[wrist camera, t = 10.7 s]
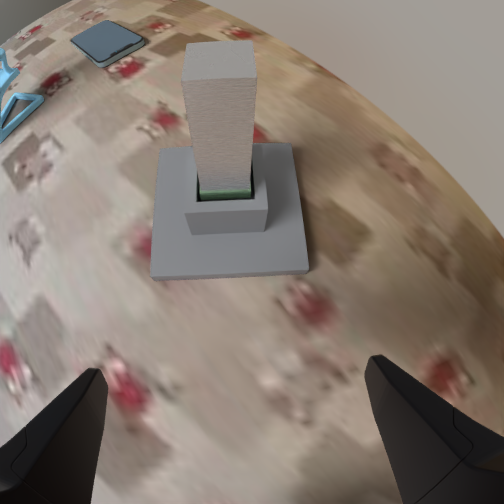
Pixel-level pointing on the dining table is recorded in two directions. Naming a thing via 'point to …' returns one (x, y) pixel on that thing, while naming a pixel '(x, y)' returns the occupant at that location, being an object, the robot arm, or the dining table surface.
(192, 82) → the column
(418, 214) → the dining table surface
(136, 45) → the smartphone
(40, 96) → the light blue holder stand
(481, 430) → the robot arm
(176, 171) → the base
